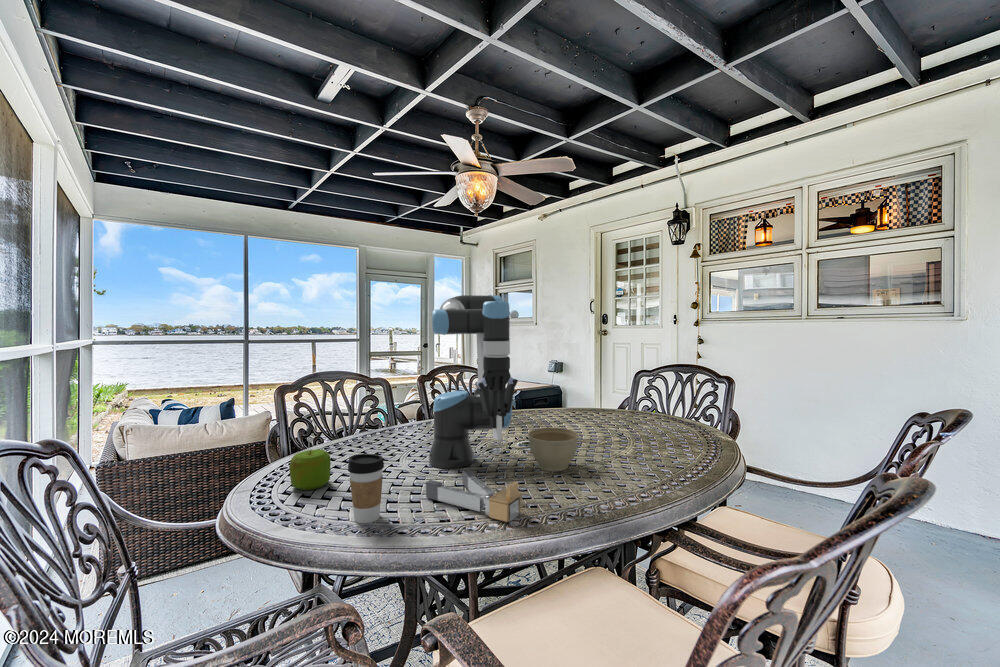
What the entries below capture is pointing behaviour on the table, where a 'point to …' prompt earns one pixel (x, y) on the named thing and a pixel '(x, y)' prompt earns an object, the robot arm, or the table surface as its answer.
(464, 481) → the bar
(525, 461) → the table surface
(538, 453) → the planter bowl
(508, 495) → the collar
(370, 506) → the coffee cup
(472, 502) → the tongs fixed
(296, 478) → the apple
